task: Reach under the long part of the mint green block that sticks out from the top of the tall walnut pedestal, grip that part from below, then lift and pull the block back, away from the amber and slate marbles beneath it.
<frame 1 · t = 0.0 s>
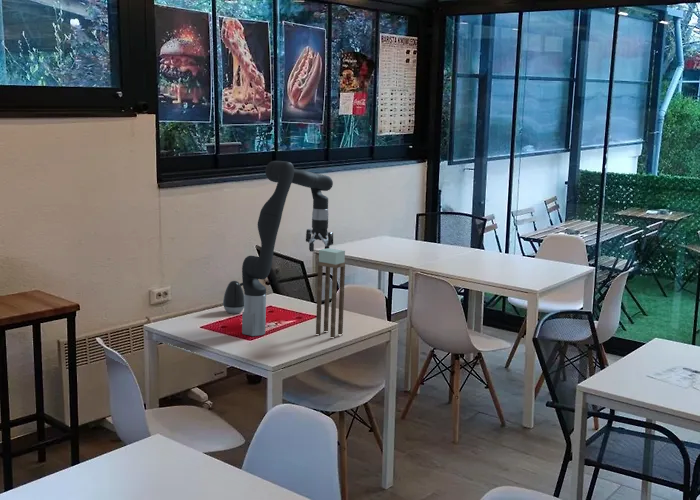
hand: (319, 252, 368), 29 cm above the table, tool pointing down, fingers open, 8 cm apart
mint green block: (331, 262, 332), point 32 cm above the table, touching walnut stand
amber marble: (327, 261, 333), point 32 cm above the table, touching walnut stand
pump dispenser: (234, 312, 369), on the table
walnut stand: (329, 335, 337), on the table
slate marble: (335, 262, 331), point 32 cm above the table, touching walnut stand
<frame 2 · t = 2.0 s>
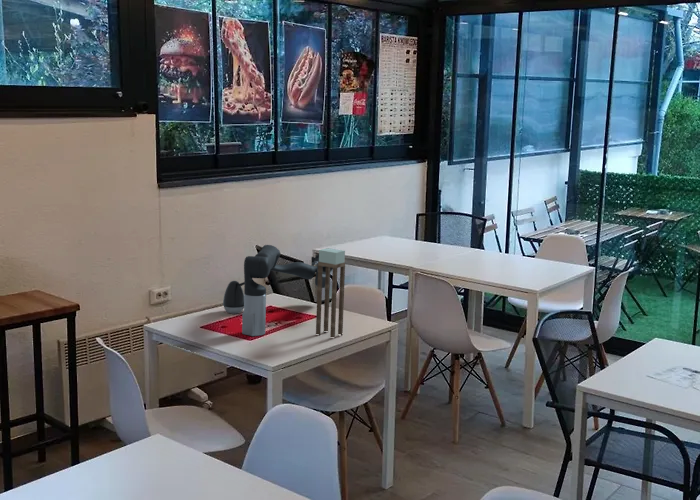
hand: (327, 256, 359), 29 cm above the table, tool pointing upward, fingers open, 8 cm apart
nothing on the table moved.
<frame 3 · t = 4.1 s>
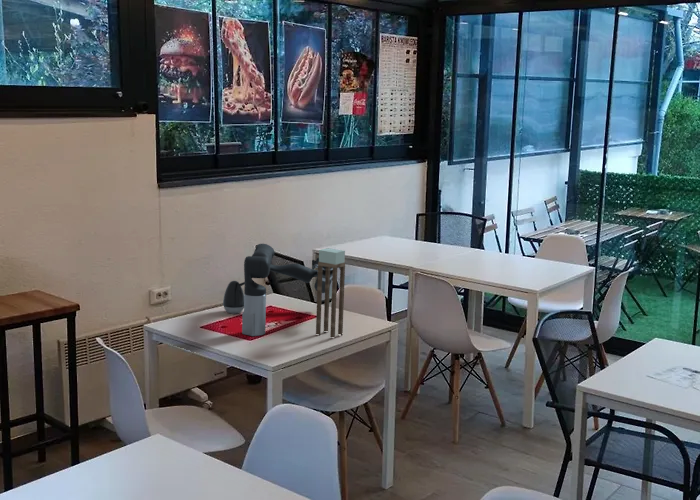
hand: (328, 259, 347), 30 cm above the table, tool pointing upward, fingers open, 8 cm apart
nothing on the table moved.
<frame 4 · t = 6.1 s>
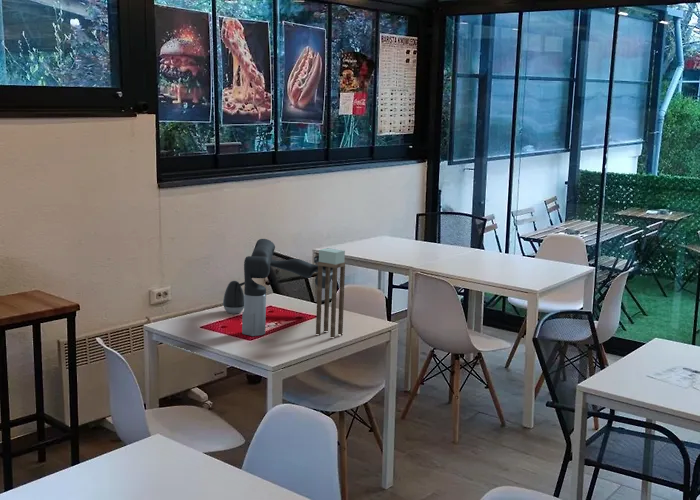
hand: (330, 253, 340), 34 cm above the table, tool pointing upward, fingers closed on mint green block
mint green block: (331, 262, 332), point 32 cm above the table, touching gripper, walnut stand
everything else where it was.
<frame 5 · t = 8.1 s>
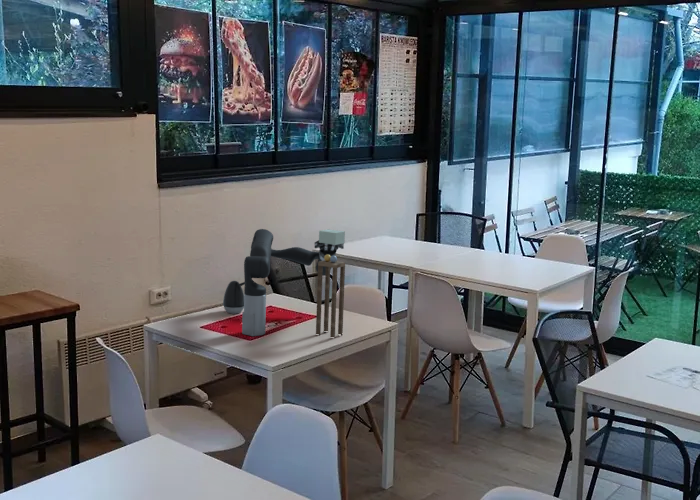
hand: (330, 238, 339), 41 cm above the table, tool pointing upward, fingers closed on mint green block
mint green block: (331, 242, 333), point 40 cm above the table, touching gripper
amber marble: (327, 261, 333), point 32 cm above the table, tilted 6°, touching walnut stand
slate marble: (335, 262, 331), point 32 cm above the table, tilted 35°, touching walnut stand
everything else where it was.
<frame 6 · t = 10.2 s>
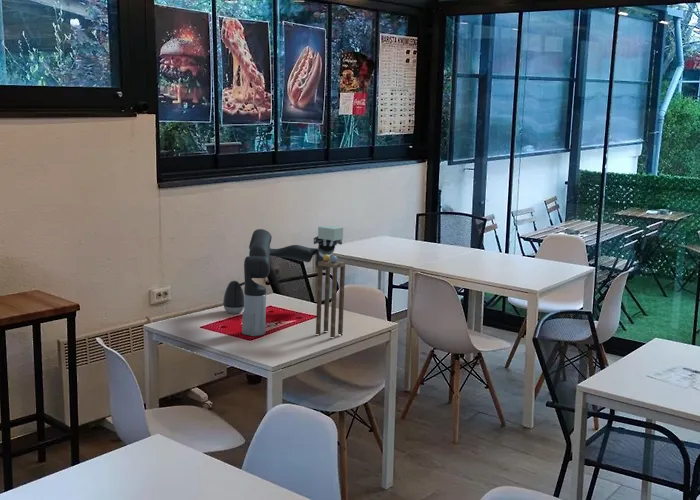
hand: (329, 234, 347), 41 cm above the table, tool pointing upward, fingers closed on mint green block
mint green block: (330, 238, 342), point 40 cm above the table, touching gripper
amber marble: (327, 261, 333), point 32 cm above the table, tilted 22°, touching walnut stand
slate marble: (335, 262, 331), point 32 cm above the table, tilted 29°, touching walnut stand
everything else where it was.
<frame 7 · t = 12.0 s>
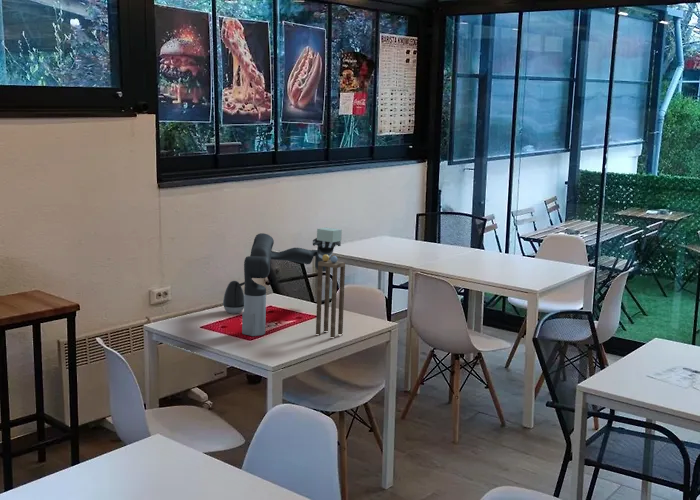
hand: (328, 235, 354), 39 cm above the table, tool pointing upward, fingers closed on mint green block
mint green block: (329, 240, 348), point 38 cm above the table, touching gripper
amber marble: (327, 260, 333), point 32 cm above the table, tilted 36°, touching walnut stand
everything else where it was.
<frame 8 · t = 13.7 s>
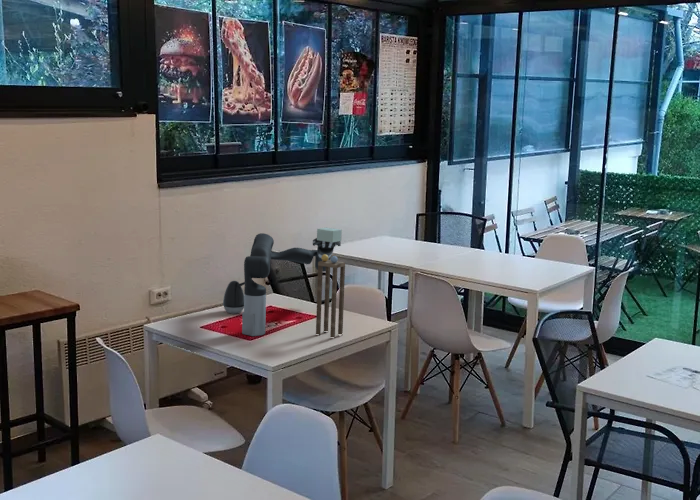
hand: (328, 235, 354), 39 cm above the table, tool pointing upward, fingers closed on mint green block
mint green block: (329, 240, 348), point 38 cm above the table, touching gripper
amber marble: (327, 260, 333), point 33 cm above the table, tilted 49°, touching walnut stand
everything else where it was.
at the end: the gripper is holding mint green block; mint green block point 38.3 cm above the table; mint green block moved 18.8 cm from its start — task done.
